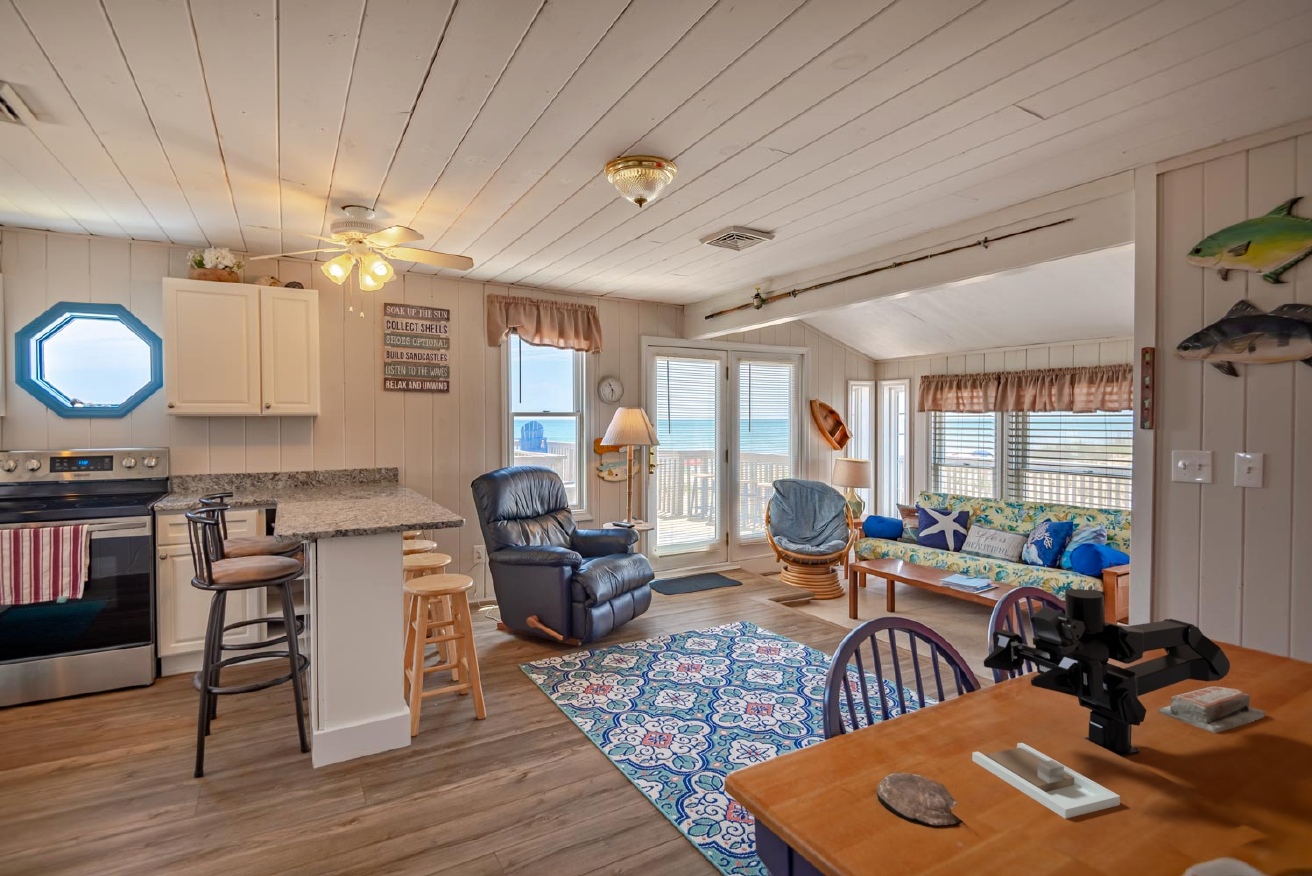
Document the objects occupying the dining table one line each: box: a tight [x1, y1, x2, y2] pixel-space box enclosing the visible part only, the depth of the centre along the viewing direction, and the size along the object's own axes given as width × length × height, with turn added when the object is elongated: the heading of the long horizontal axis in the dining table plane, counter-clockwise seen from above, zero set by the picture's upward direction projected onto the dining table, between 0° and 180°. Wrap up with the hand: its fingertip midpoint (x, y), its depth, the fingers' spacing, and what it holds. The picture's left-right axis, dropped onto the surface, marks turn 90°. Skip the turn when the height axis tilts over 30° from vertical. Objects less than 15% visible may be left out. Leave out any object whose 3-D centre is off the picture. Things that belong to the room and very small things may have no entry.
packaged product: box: [1158, 686, 1266, 734], centre depth 133 cm, size 18×5×10 cm
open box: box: [971, 742, 1121, 820], centre depth 104 cm, size 11×17×3 cm, turn 19°
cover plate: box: [984, 747, 1074, 792], centre depth 107 cm, size 8×10×3 cm
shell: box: [875, 771, 964, 828], centre depth 101 cm, size 12×13×4 cm
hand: (1007, 672), depth 109 cm, fingers open, 9 cm apart
